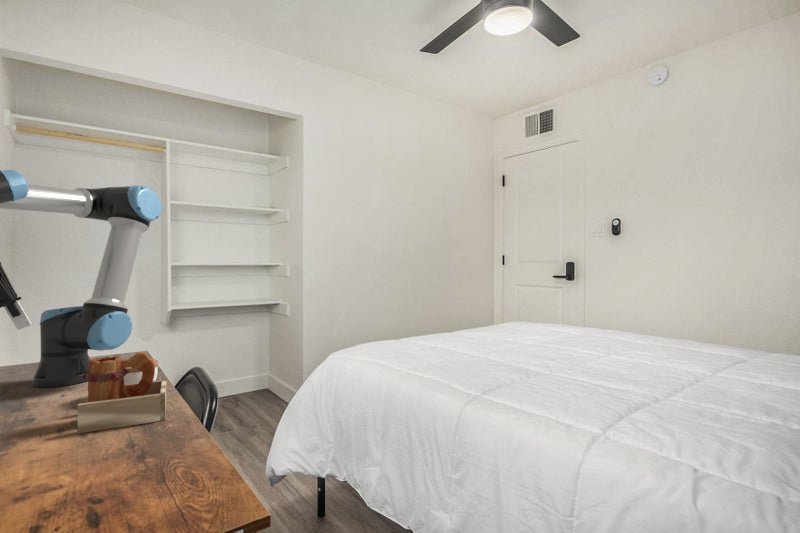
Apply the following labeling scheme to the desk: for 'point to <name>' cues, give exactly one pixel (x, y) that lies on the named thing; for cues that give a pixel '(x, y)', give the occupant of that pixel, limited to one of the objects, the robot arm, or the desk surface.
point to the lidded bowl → (138, 374)
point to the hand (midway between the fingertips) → (24, 326)
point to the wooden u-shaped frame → (124, 410)
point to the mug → (118, 377)
